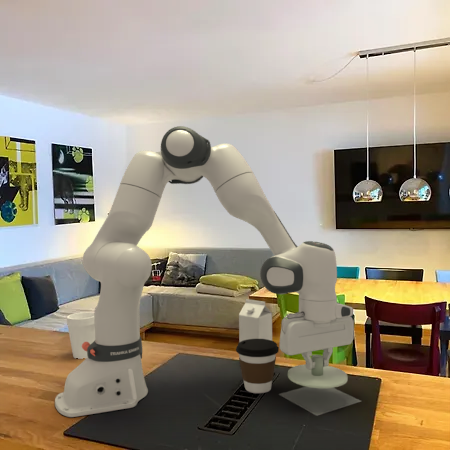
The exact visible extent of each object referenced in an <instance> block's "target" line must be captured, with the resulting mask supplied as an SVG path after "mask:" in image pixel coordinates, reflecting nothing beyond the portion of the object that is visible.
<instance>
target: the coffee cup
mask: <svg viewBox="0 0 450 450" xmlns="http://www.w3.org/2000/svg"><path fill="white" fill-rule="evenodd" d="M279 350H280V347H278V344H277V343H276V342H275V341H273V340H272V341H271V340H267V339H248V340H243V341H241V342H239V341H238V344H237V346H236V348H235V351H236V353H237V354H238V356H239V357H238V358H239V359H238V361H239V367H240V372H241V378H242V380H243V384H244V388H245V390H246V391H247V392H249V393H253V394H264V393H268V392H270V391H271V390H272V383H273V379H274V374H275V368H276V367H275V366H276V359H277V354H278V353H279Z"/></svg>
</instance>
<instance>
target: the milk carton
mask: <svg viewBox="0 0 450 450" xmlns="http://www.w3.org/2000/svg"><path fill="white" fill-rule="evenodd" d="M244 301H245V303H244V304H243V306H242V308H241V310H240V312H239V313H238V329H239V330H238V331H239V332H238V333H239V335H238V337H239V338H238V339H239V341H238V343H239V342H241V341H243V340H248V339H267V340H271V341H273V312H271V310H270V309H269V308H268V307H267V306H266V301H261V300H255V299H247V298H246V299H245V300H244Z"/></svg>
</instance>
